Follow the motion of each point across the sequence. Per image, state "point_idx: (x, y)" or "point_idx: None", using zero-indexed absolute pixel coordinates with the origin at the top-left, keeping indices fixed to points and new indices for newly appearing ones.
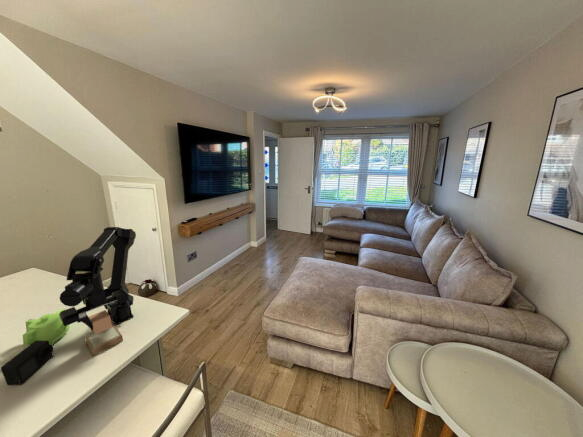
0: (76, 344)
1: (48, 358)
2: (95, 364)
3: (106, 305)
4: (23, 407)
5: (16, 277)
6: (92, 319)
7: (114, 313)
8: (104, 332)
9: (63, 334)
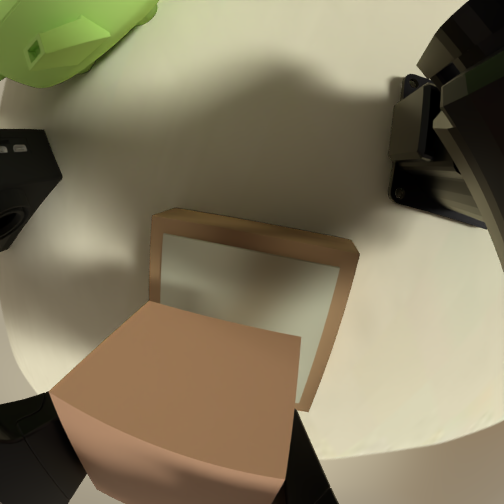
0: (141, 168)
1: (41, 194)
2: None
3: (460, 167)
4: (22, 340)
5: None
6: (93, 465)
7: (439, 171)
8: (259, 297)
9: (115, 40)
